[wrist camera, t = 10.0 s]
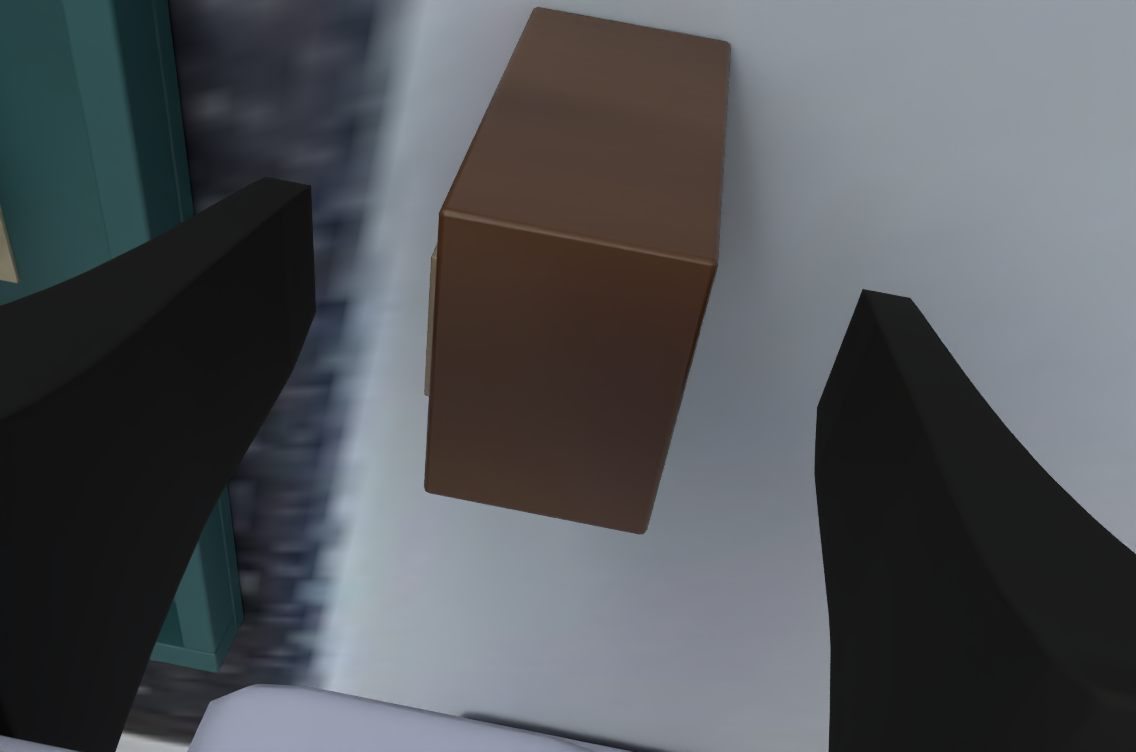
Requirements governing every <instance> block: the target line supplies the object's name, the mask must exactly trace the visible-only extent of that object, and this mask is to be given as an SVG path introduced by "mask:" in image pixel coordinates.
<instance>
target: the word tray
mask: <svg viewBox="0 0 1136 752" xmlns="http://www.w3.org/2000/svg"><path fill="white" fill-rule="evenodd" d="M0 205H1V209H2V213H3V217H4V221H5V224H6V228H7V232H8V236H9V240H10V243H11V247H12V251H13V255H14V259H15V262H16V266H17V270H18V274H19V278H20V281H19V282H18V283H14V282H9V281H4V280H0V306H1V305H4V304H7V303H10V302H12V301H15V300H18V299H20V298H23V297H26V296H28V295H31V294H33V293H36V292H39V291H41V290H44V289H47V288H49V287H52V286H54V285H56V284H59V283H61V282H64V281H66V280H68V279H71V278H73V277H75V276H78V275H80V274H82V273H84V272H87V271H89V270H91V269H93V268H95V267H97V266H99V265H101V264H103V263H105V262H107V261H109V260H111V259H113V258H115V257H117V256H119V255H121V254H123V253H125V252H127V251H129V250H131V249H133V248H135V247H138V246H140V245H142V244H144V243H146V242H148V241H150V240H151V239H153V238H155V237H157V236H159V235H161V234H162V233H164V232H166V231H168V230H170V229H171V228H173V227H175V226H177V225H179V224H181V223H182V222H184V221H186V220H188V219H190V218H191V217H193V216H194V211H193V203H192V195H191V187H190V179H189V171H188V163H187V155H186V146H185V138H184V130H183V122H182V114H181V106H180V98H179V90H178V82H177V74H176V65H175V57H174V49H173V41H172V33H171V25H170V17H169V9H168V1H167V0H0ZM243 619H244V616H243V608H242V600H241V592H240V584H239V576H238V568H237V559H236V551H235V543H234V535H233V527H232V519H231V511H230V503H229V495H228V487H227V486H226V487H225V489H224V491H223V492H222V494H221V496H220V498H219V500H218V502H217V503H216V505H215V507H214V509H213V511H212V513H211V515H210V517H209V519H208V521H207V523H206V525H205V527H204V529H203V532H202V534H201V536H200V538H199V541H198V543H197V545H196V548H195V550H194V552H193V555H192V557H191V559H190V561H189V564H188V566H187V568H186V571H185V573H184V575H183V577H182V580H181V582H180V584H179V587H178V589H177V592H176V594H175V597H174V599H173V602H172V604H171V606H170V609H169V611H168V614H167V616H166V619H165V621H164V624H163V626H162V629H161V631H160V633H159V636H158V638H157V641H156V643H155V646H154V648H153V651H152V653H151V656H150V660H155V661H160V662H165V663H170V664H175V665H180V666H185V667H190V668H195V669H200V670H205V671H210V672H215V673H218V672H219V670H220V668H221V666H222V663H223V661H224V659H225V657H226V655H227V653H228V651H229V649H230V646H231V644H232V642H233V640H234V638H235V636H236V632H237V631H238V629H239V627H240V625H241V623H242V621H243Z"/></svg>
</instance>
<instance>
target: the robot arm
mask: <svg viewBox="0 0 1136 752" xmlns="http://www.w3.org/2000/svg"><path fill="white" fill-rule="evenodd" d="M315 313H316V300H315V274H314V249H313V223H312V198H311V185H305V184H300V183H295V182H289V181H284V180H279V179H273V178H268V177H264V178H262V179H260V180H258V181H256V182H254V183H252V184H250V185H248V186H246V187H244V188H243V189H241V190H239V191H237V192H235V193H234V194H232V195H230V196H228V197H227V198H225V199H223V200H221V201H220V202H218V203H216V204H214V205H213V206H211V207H209V208H207V209H206V210H204V211H202V212H200V213H199V214H197V215H195V216H193V217H191V218H190V219H188V220H186V221H184V222H182V223H181V224H179V225H177V226H175V227H173V228H171V229H170V230H168V231H166V232H164V233H162V234H161V235H159V236H157V237H155V238H153V239H151V240H150V241H148V242H146V243H144V244H142V245H140V246H138V247H135V248H133V249H131V250H129V251H127V252H125V253H123V254H121V255H119V256H117V257H115V258H113V259H111V260H109V261H107V262H105V263H103V264H101V265H99V266H97V267H95V268H93V269H91V270H89V271H87V272H84V273H82V274H80V275H78V276H75V277H73V278H71V279H68V280H66V281H64V282H61V283H59V284H56V285H54V286H52V287H49V288H47V289H44V290H41V291H39V292H36V293H33V294H31V295H28V296H26V297H23V298H20V299H18V300H15V301H12V302H10V303H7V304H4V305H1V306H0V752H115V751H116V748H117V745H118V743H119V740H120V737H121V734H122V731H123V728H124V725H125V722H126V720H127V717H128V714H129V712H130V709H131V706H132V704H133V701H134V699H135V696H136V693H137V691H138V688H139V685H140V683H141V680H142V677H143V675H144V672H145V669H146V667H147V664H148V661H149V659H150V656H151V653H152V651H153V648H154V646H155V643H156V641H157V638H158V636H159V633H160V631H161V629H162V626H163V624H164V621H165V619H166V616H167V614H168V611H169V609H170V606H171V604H172V602H173V599H174V597H175V594H176V592H177V589H178V587H179V584H180V582H181V580H182V577H183V575H184V573H185V571H186V568H187V566H188V564H189V561H190V559H191V557H192V555H193V552H194V550H195V548H196V545H197V543H198V541H199V538H200V536H201V534H202V532H203V529H204V527H205V525H206V523H207V521H208V519H209V517H210V515H211V513H212V511H213V509H214V507H215V505H216V503H217V502H218V500H219V498H220V496H221V494H222V492H223V491H224V489H225V487H226V486H227V484H228V482H229V480H230V479H231V477H232V475H233V474H234V472H235V470H236V468H237V467H238V465H239V463H240V462H241V460H242V458H243V456H244V455H245V453H246V451H247V450H248V448H249V446H250V444H251V443H252V441H253V439H254V438H255V436H256V434H257V433H258V431H259V429H260V427H261V426H262V424H263V422H264V421H265V419H266V417H267V415H268V414H269V412H270V410H271V408H272V407H273V405H274V403H275V401H276V400H277V398H278V396H279V394H280V393H281V391H282V389H283V387H284V386H285V384H286V382H287V380H288V378H289V377H290V375H291V373H292V371H293V368H294V366H295V364H296V361H297V359H298V356H299V354H300V352H301V349H302V347H303V344H304V342H305V339H306V336H307V334H308V331H309V328H310V326H311V323H312V321H313V318H314V315H315ZM815 484H816V495H817V505H818V516H819V526H820V535H821V545H822V554H823V564H824V574H825V583H826V593H827V602H828V612H829V627H830V645H831V660H830V725H829V752H1136V554H1135V553H1134V552H1133V551H1131V550H1130V549H1129V548H1128V547H1127V546H1125V545H1124V544H1123V543H1122V542H1121V541H1119V540H1118V539H1117V538H1116V537H1114V536H1113V535H1112V534H1111V533H1110V532H1109V531H1108V530H1107V529H1105V528H1104V527H1103V526H1102V525H1101V524H1100V523H1099V522H1098V521H1096V520H1095V519H1094V518H1093V517H1092V516H1091V515H1090V514H1089V513H1088V512H1087V511H1086V510H1085V509H1084V508H1083V507H1082V506H1081V505H1079V504H1078V503H1077V502H1076V501H1075V500H1074V499H1073V498H1072V497H1071V496H1070V495H1069V494H1068V493H1067V492H1066V491H1065V490H1064V489H1063V488H1062V487H1061V486H1060V485H1059V484H1058V483H1057V482H1056V481H1055V480H1054V479H1053V478H1052V477H1051V476H1050V475H1049V474H1048V473H1047V472H1046V471H1045V470H1044V469H1043V468H1042V467H1041V465H1040V464H1039V463H1038V462H1037V461H1036V460H1035V459H1034V458H1033V457H1032V456H1031V454H1030V453H1029V452H1028V451H1027V450H1026V449H1025V447H1024V446H1023V445H1022V444H1021V443H1020V442H1019V441H1018V439H1017V438H1016V437H1015V436H1014V435H1013V434H1012V433H1011V431H1010V430H1009V429H1008V428H1007V427H1006V426H1005V424H1004V423H1003V422H1002V421H1001V419H1000V418H999V417H998V416H997V414H996V413H995V412H994V411H993V410H992V408H991V407H990V406H989V404H988V403H987V402H986V401H985V399H984V398H983V397H982V396H981V394H980V393H979V392H978V390H977V389H976V388H975V386H974V385H973V384H972V382H971V381H970V380H969V378H968V377H967V376H966V374H965V373H964V372H963V370H962V369H961V367H960V366H959V365H958V363H957V362H956V361H955V359H954V358H953V356H952V355H951V354H950V352H949V351H948V349H947V348H946V347H945V345H944V344H943V342H942V341H941V340H940V338H939V337H938V335H937V334H936V332H935V331H934V330H933V328H932V327H931V325H930V324H929V323H928V321H927V320H926V318H925V317H924V315H923V314H922V313H921V311H920V310H919V309H918V307H917V306H916V305H915V303H914V302H913V301H912V299H911V298H907V297H902V296H897V295H891V294H886V293H881V292H875V291H870V290H865V289H863V290H862V292H861V295H860V298H859V300H858V303H857V305H856V308H855V311H854V313H853V316H852V318H851V321H850V324H849V326H848V329H847V331H846V334H845V337H844V339H843V342H842V344H841V347H840V349H839V352H838V355H837V357H836V360H835V362H834V365H833V368H832V370H831V373H830V375H829V378H828V381H827V383H826V386H825V388H824V391H823V394H822V396H821V399H820V401H819V404H818V406H817V422H816V441H815ZM187 752H632V751H627V750H622V749H617V748H612V747H607V746H602V745H597V744H592V743H587V742H583V741H578V740H573V739H568V738H563V737H558V736H553V735H548V734H543V733H538V732H533V731H528V730H523V729H518V728H513V727H508V726H503V725H498V724H493V723H488V722H483V721H478V720H472V719H467V718H462V717H457V716H452V715H447V714H442V713H437V712H433V711H428V710H423V709H418V708H413V707H408V706H403V705H398V704H393V703H388V702H383V701H378V700H373V699H368V698H363V697H358V696H353V695H348V694H343V693H338V692H333V691H328V690H323V689H318V688H313V687H308V686H293V685H272V684H255V685H252V686H248V687H245V688H243V689H240V690H238V691H235V692H233V693H230V694H228V695H225V696H223V697H220V698H218V699H215V700H213V701H210V703H209V705H208V708H207V710H206V712H205V714H204V716H203V718H202V721H201V723H200V725H199V727H198V729H197V731H196V734H195V736H194V738H193V740H192V742H191V744H190V747H189V749H188V751H187Z"/></svg>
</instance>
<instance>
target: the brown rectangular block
mask: <svg viewBox="0 0 1136 752" xmlns="http://www.w3.org/2000/svg"><path fill="white" fill-rule="evenodd" d="M730 54H731V46H730V44H729V43H728V42H725V41H720V40H714V39H709V38H703V37H698V36H692V35H687V34H681V33H676V32H670V31H665V30H659V29H654V28H648V27H643V26H638V25H632V24H627V23H621V22H616V21H610V20H605V19H599V18H594V17H588V16H583V15H577V14H572V13H566V12H561V11H555V10H550V9H545V8H539V7H537V8H534V9H533V11H532V13H531V15H530V17H529V19H528V21H527V24H526V26H525V28H524V30H523V32H522V34H521V37H520V39H519V41H518V43H517V45H516V47H515V50H514V52H513V54H512V56H511V58H510V60H509V63H508V65H507V67H506V69H505V71H504V73H503V76H502V78H501V80H500V82H499V84H498V86H497V89H496V91H495V93H494V95H493V97H492V99H491V101H490V104H489V106H488V108H487V110H486V112H485V114H484V117H483V119H482V121H481V123H480V125H479V127H478V130H477V132H476V134H475V136H474V138H473V140H472V143H471V145H470V147H469V149H468V151H467V153H466V156H465V158H464V160H463V162H462V164H461V166H460V169H459V171H458V173H457V175H456V177H455V179H454V181H453V184H452V186H451V188H450V190H449V192H448V194H447V197H446V199H445V201H444V203H443V205H442V207H441V210H440V212H439V225H438V243H437V245H436V248H435V250H434V252H433V254H432V257H431V273H430V292H429V312H428V331H427V351H426V371H425V390H424V394H425V395H426V396H429V406H428V425H427V443H426V461H425V479H424V488H425V491H426V492H428V493H431V494H436V495H441V496H446V497H452V498H457V499H462V500H467V501H472V502H477V503H482V504H487V505H492V506H497V507H503V508H508V509H513V510H518V511H523V512H528V513H533V514H538V515H543V516H548V517H553V518H559V519H564V520H569V521H574V522H579V523H584V524H589V525H594V526H599V527H604V528H610V529H615V530H620V531H625V532H630V533H635V534H644V533H645V532H646V530H647V528H648V524H649V521H650V517H651V513H652V510H653V506H654V502H655V498H656V495H657V491H658V487H659V483H660V480H661V476H662V472H663V468H664V465H665V461H666V457H667V454H668V450H669V446H670V442H671V439H672V435H673V431H674V427H675V424H676V420H677V416H678V413H679V409H680V405H681V401H682V398H683V394H684V390H685V386H686V383H687V379H688V375H689V371H690V368H691V364H692V360H693V357H694V353H695V349H696V345H697V342H698V338H699V334H700V330H701V327H702V323H703V319H704V316H705V312H706V308H707V304H708V301H709V297H710V293H711V289H712V286H713V282H714V278H715V275H716V271H717V267H718V257H719V240H720V223H721V206H722V189H723V172H724V156H725V139H726V122H727V105H728V88H729V71H730Z"/></svg>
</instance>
